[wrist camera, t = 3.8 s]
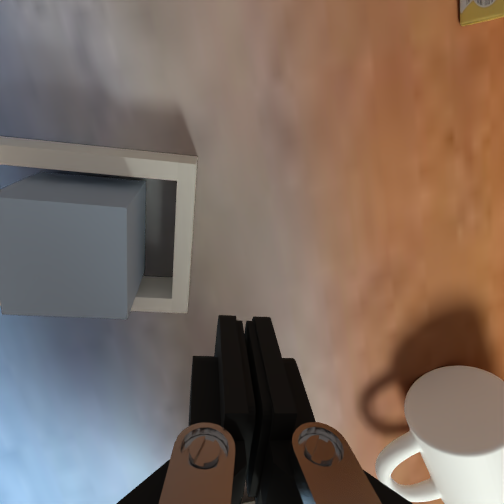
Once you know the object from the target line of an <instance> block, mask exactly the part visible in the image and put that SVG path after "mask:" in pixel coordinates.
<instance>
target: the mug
mask: <svg viewBox="0 0 504 504" xmlns="http://www.w3.org/2000/svg"><path fill="white" fill-rule="evenodd" d="M404 411H405V417H406V420H407V423H408V425H409V428H410V430H409V432H407V433H405V434H403V435H402V436H400V437H398V438H396V439H395V440H393V441H392V442H391V443H389V444H388V445H387V446H386V447H385V448H384V449H383V450H382V451H381V452H380V454H379V455H378V457H377V460H376V465H375V468H376V474H377V477H378V480H379V481H380V482H382V483H383V484H385V485H386V486H388V487H389V488H390V489H392V490H393V491H395V492H396V493H398V494H399V495H401V496H402V497H404V498H405V499H407V500H408V501H410V502H425V501H431V500H435V499H439V498H441V499H442V500H443V502H444V503H445V504H504V381H503V380H502V379H501V378H499V377H497V376H496V375H494V374H492V373H490V372H488V371H485V370H483V369H479V368H475V367H470V366H460V365H456V366H446V367H441V368H437V369H434V370H432V371H430V372H428V373H426V374H424V375H423V376H421V377H420V378H419V379H417V380H416V381H415V382H414V383H413V385H412V386H411V387H410V389H409V391H408V393H407V395H406V398H405V404H404ZM418 452H420V453H421V455H422V457H423V460H424V462H425V464H426V466H427V469H428V471H429V473H430V479H427V480H425V481H422V482H419V483H416V484H412V485H401V484H398V483H397V482H395V481H394V480H393V479H392V478H391V473H392V471H393V470H394V468H395V467H396V466H397V465H399V464H400V463H401V462H402V461H404V460H405V459H407V458H409V457H410V456H412V455H414V454H416V453H418Z"/></svg>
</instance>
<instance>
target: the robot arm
mask: <svg viewBox="0 0 504 504" xmlns="http://www.w3.org/2000/svg"><path fill="white" fill-rule="evenodd" d="M245 480H246V485H247V494H248V497H255V501H251V502H246V503H242V504H412V503H411V502H410V501H408V500H407V499H405V498H404V497H402V496H401V495H399V494H398V493H396V492H395V491H393V490H392V489H390V488H389V487H388V486H386V485H385V484H383V483H382V482H380V481H379V480H377V479H376V478H374V477H373V476H371V475H370V474H369V473H367V472H366V471H364V470H363V469H362V468H361V466H360V464H359V462H358V461H357V459H356V457H355V455H354V453H353V452H352V450H351V448H350V446H349V445H348V443H347V441H346V440H345V439H344V437H343V436H342V435H341V434H340V433H339V432H338V431H337V430H335V429H334V428H332V427H330V426H328V425H326V424H323V423H319V422H316V421H315V418H314V415H313V412H312V409H311V406H310V403H309V400H308V397H307V394H306V391H305V388H304V385H303V382H302V379H301V376H300V373H299V370H298V367H297V364H296V361H295V359H293V358H282V357H281V353H280V349H279V346H278V342H277V339H276V335H275V332H274V328H273V325H272V321H271V318H270V317H253V319H252V321H247V322H246V327H245V334H244V329H243V323H242V321H238V320H236V316H226V315H219V316H218V325H217V335H216V345H215V355H214V357H213V356H193V362H192V375H191V391H190V409H189V427H187V428H186V429H184V430H183V431H182V432H181V433H180V434H179V435H178V437H177V439H176V441H175V444H174V447H173V451H172V455H171V459H170V460H168V461H167V462H166V463H165V464H164V465H162V466H161V467H160V468H159V469H158V470H156V471H155V472H154V473H153V474H152V475H150V476H149V477H148V478H147V479H146V480H144V481H143V482H142V483H141V484H139V485H138V486H137V487H136V488H135V489H133V490H132V491H131V492H130V493H129V494H127V495H126V496H125V497H124V498H123V499H121V500H120V501H119V502H118V503H117V504H240V503H241V497H243V492H244V486H245Z"/></svg>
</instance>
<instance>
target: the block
mask: <svg viewBox="0 0 504 504" xmlns="http://www.w3.org/2000/svg"><path fill="white" fill-rule="evenodd" d="M145 218H146V181H139V180H128V179H117V178H106V177H95V176H84V175H73V174H63V173H52V172H41V171H40V172H38V173H36V174H34V175H31V176H29V177H27V178H25V179H23V180H20V181H18V182H16V183H14V184H11V185H9V186H7V187H5V188H2V189H0V303H1V310H2V314H3V315H28V316H54V317H79V318H104V319H128V316H129V313H130V310H131V308H132V305H133V302H134V299H135V296H136V294H137V291H138V288H139V285H140V282H141V280H142V277H143V274H144V271H145Z"/></svg>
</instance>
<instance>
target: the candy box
mask: <svg viewBox="0 0 504 504" xmlns="http://www.w3.org/2000/svg"><path fill="white" fill-rule="evenodd" d="M502 17H504V0H460V24H461V25H462V26H465V25H471V24H476V23H480V22H484V21H489V20H493V19H497V18H502Z"/></svg>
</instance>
